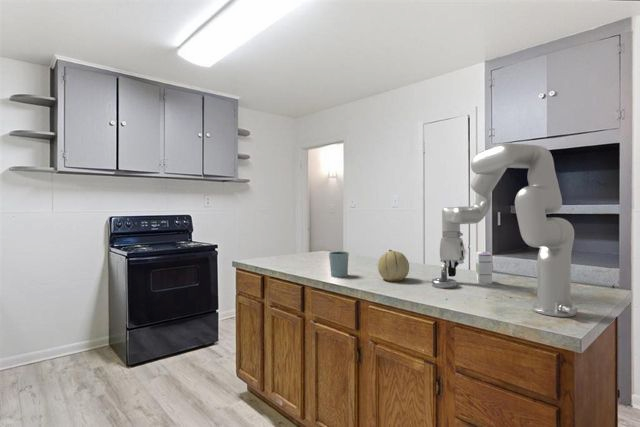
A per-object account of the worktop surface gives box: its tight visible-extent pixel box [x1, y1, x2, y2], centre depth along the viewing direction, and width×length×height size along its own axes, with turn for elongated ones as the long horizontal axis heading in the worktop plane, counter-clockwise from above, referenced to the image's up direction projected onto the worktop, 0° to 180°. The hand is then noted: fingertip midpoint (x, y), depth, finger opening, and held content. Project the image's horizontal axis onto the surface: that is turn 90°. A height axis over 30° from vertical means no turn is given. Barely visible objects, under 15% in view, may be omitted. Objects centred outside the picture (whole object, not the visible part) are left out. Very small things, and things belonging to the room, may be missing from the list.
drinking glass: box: [328, 251, 349, 278], centre depth 193 cm, size 10×10×12 cm
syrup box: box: [475, 251, 493, 285], centre depth 169 cm, size 6×6×14 cm
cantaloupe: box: [377, 249, 410, 282], centre depth 177 cm, size 15×15×15 cm
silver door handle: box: [431, 263, 457, 290], centre depth 165 cm, size 17×10×8 cm, turn 161°
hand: (452, 276), depth 168 cm, fingers closed
